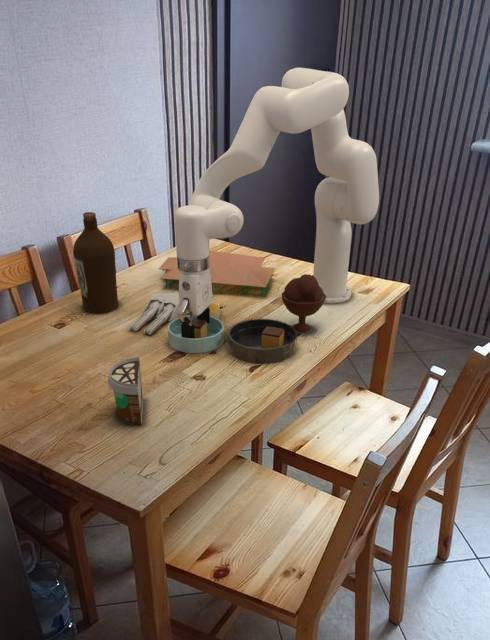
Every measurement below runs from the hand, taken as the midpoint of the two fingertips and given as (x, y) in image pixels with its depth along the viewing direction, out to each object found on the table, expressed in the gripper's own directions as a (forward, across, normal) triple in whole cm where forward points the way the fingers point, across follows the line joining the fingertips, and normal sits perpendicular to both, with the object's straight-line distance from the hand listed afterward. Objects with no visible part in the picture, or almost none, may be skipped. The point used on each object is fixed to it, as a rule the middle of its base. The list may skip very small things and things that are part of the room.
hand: (196, 330), depth 164 cm
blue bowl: (+3, 0, 0) cm, 3 cm away
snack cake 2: (+3, +2, -19) cm, 19 cm away
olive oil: (+3, +11, +33) cm, 35 cm away
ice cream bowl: (+3, +16, -23) cm, 28 cm away
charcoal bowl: (+3, +2, -16) cm, 17 cm away
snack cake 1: (+3, 0, 0) cm, 3 cm away
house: (+3, +41, +10) cm, 42 cm away
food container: (+3, -35, +1) cm, 35 cm away
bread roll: (+3, +15, +4) cm, 16 cm away
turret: (+3, +9, +14) cm, 17 cm away
